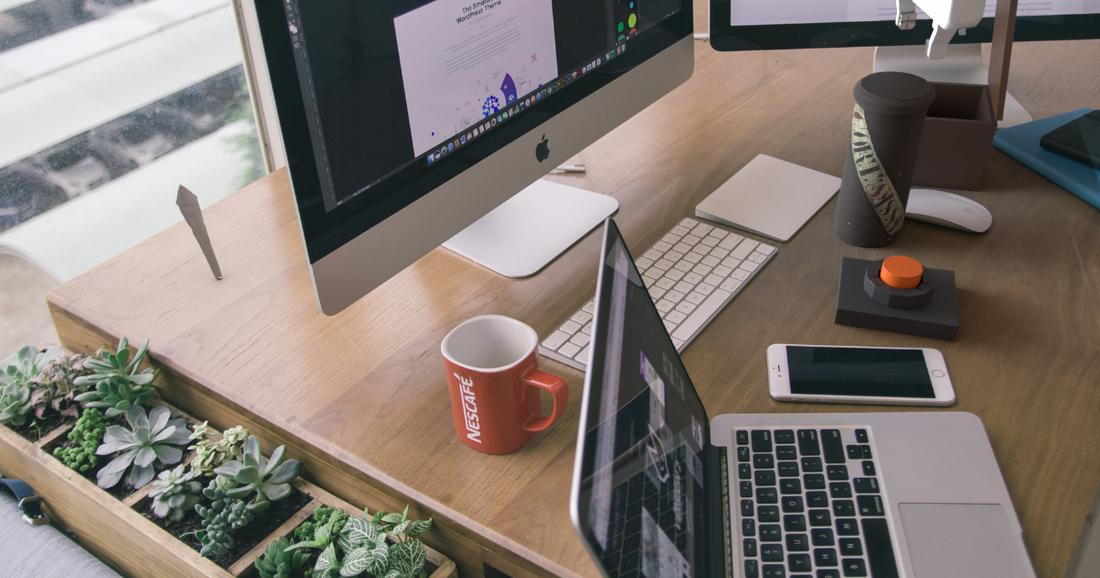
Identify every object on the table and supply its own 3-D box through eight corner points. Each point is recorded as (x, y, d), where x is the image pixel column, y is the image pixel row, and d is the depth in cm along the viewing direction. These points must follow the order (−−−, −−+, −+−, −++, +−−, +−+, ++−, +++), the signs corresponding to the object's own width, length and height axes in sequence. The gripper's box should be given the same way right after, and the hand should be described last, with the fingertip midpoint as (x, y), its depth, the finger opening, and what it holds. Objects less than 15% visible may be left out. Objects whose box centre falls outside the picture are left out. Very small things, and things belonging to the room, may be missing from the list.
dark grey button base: (834, 324, 85) (839, 295, 83) (839, 271, 92) (844, 243, 90) (954, 342, 81) (963, 313, 79) (950, 286, 89) (958, 257, 86)
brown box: (854, 179, 109) (866, 114, 103) (858, 139, 118) (869, 77, 112) (977, 191, 104) (998, 124, 98) (971, 148, 113) (989, 84, 107)
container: (820, 238, 98) (844, 88, 86) (843, 205, 104) (869, 60, 92) (890, 257, 94) (926, 102, 82) (911, 221, 99) (947, 72, 87)
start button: (879, 287, 84) (882, 274, 83) (880, 266, 87) (883, 253, 86) (919, 292, 83) (923, 279, 82) (919, 271, 86) (922, 258, 84)
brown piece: (1011, -12, 89) (1019, -12, 88) (1001, -42, 98) (1008, -43, 98) (995, 121, 98) (1002, 120, 98) (987, 81, 107) (994, 81, 107)
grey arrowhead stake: (210, 286, 100) (170, 192, 91) (207, 276, 102) (168, 182, 93) (230, 280, 101) (192, 186, 92) (227, 269, 103) (189, 177, 94)
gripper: (1022, -70, 71) (986, 74, 79) (939, -113, 87) (916, 10, 96) (951, -63, 72) (922, 79, 80) (881, -107, 88) (863, 15, 96)
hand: (918, 41), depth 88 cm, fingers open, 8 cm apart
